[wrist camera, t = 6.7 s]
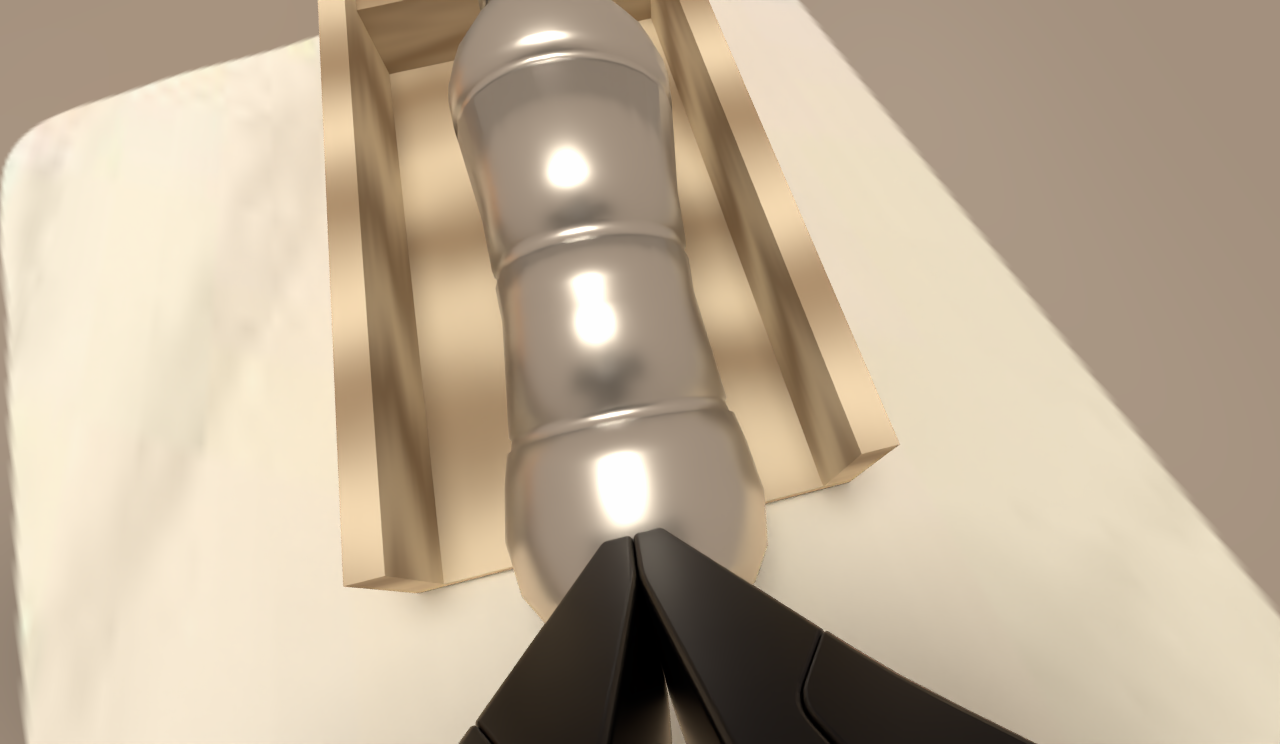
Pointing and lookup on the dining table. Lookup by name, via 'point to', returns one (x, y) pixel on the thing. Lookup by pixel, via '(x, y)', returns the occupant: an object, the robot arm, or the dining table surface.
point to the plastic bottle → (595, 297)
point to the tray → (469, 311)
